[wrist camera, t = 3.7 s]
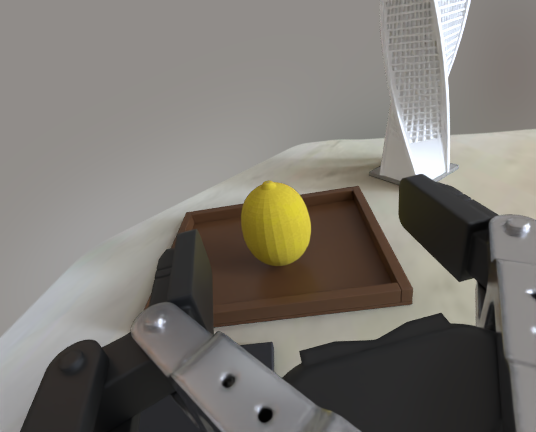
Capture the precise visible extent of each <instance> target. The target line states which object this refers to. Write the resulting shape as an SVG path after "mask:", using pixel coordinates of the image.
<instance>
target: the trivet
mask: <svg viewBox="0 0 536 432" xmlns="http://www.w3.org/2000/svg"><path fill="white" fill-rule="evenodd" d="M240 346H241V347H242V348H243V349H245V350H246V351H247V352H249V353H250V354H251V355H252V356H254V357H255V358H256V359H258V360H259V361H260V362H262V363H263V364H264V365H265V366H267V367H268V368H269V369H271V370H272V371H273V372H274V347H273V343H272V342H267V343H257V344H248V345H240ZM139 432H199V431H198V429H197V428H196V427H195V426H194V425H193V424H192V422H191V421H190V420H189V419H188V418H187V416H186V415H185V414H184V413H183V412H182V410H181V409H180V408H179V407H178V406H177V404H176V403H175V402H174V401H173V400H172V398H171V397H170V396H169V395H168V396H167V397H165V398H163V399H162V400H160V401H158V402H157V403H155V404H153V405H152V406H150V407H148V408H147V409H145V410H143V411H142V412H141V415H140V424H139Z"/></svg>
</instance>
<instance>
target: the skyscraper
mask: <svg viewBox="0 0 536 432" xmlns="http://www.w3.org/2000/svg"><path fill="white" fill-rule="evenodd" d="M470 1H471V0H380V32H381V43H382V53H383V60H384V68H385V74H386V79H387V84H388V89H389V94H390V98H391V104H390V109H389V116H388V122H387V128H386V134H385V141H384V147H383V154H382V161H381V166H379V167H377V168H375V169H374V170H372V171H370V172H369V175H371V176H374V177H377V178H380V179H383V180H386V181H389V182H392V183H395V184H398V185H399V184H400V180H401V179H402V178H405V177H409V176H413V175H418V174H424V175H426V176H427V177H429V178H431V179H432V180H434V181H435V182H437V181H438V180H440V179H442V178H443V177H445V176H447V175H448V174H450V173H452V172H453V171H455V170H457V169H458V168H459V165H457V164H453V163H450V115H449V93H448V92H449V91H448V75H449V73H450V70H451V67H452V64H453V62H454V59H455V56H456V53H457V50H458V47H459V43H460V40H461V37H462V33H463V30H464V26H465V22H466V18H467V14H468V10H469V6H470Z"/></svg>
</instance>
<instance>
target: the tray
mask: <svg viewBox="0 0 536 432" xmlns="http://www.w3.org/2000/svg"><path fill="white" fill-rule="evenodd" d="M300 196H301V198H302V199H303V201H304V203H305V205H306V208H307V210H308V214H309V217H310V222H311V235H310V240H309V244H308V246H307V248H306V250H305V252H304V253H303V254H302V256H301V257H300V258H299V259H297V260H296V261H294V262H293V263H290V264H288V265H284V266H272V265H268V264H265V263H263V262H261V261H260V260H258V259H257V258H256V257H255V256H254V255H253V254H252V253H251V251H250V250H249V248H248V247H247V245H246V242H245V240H244V237H243V232H242V226H241V212H242V207H243V204H238V205H232V206H225V207H219V208H212V209H206V210H199V211H193V212H187V213H186V215H185V217H184V219H183V221H182V224H181V226H180V228H179V231H178V233H182V232H186V231H190V230H194V229H197V230H198V231H199V234H200V236H201V239H202V242H203V245H204V247H205V250H206V253H207V256H208V258H209V261H210V265H211V269H212V278H213V327H221V326H229V325H238V324H246V323H255V322H263V321H272V320H281V319H289V318H298V317H306V316H315V315H323V314H332V313H340V312H349V311H358V310H366V309H375V308H383V307H392V306H400V305H409V304H412V296H413V288H412V286H411V284H410V282H409V280H408V278H407V276H406V275H405V273H404V271H403V269H402V267H401V265H400V263H399V261H398V259H397V258H396V256H395V254H394V252H393V250H392V248H391V246H390V244H389V242H388V241H387V239H386V237H385V235H384V233H383V231H382V229H381V227H380V225H379V224H378V222H377V220H376V218H375V216H374V214H373V212H372V210H371V208H370V207H369V205H368V203H367V201H366V199H365V197H364V195H363V193H362V191H361V190H360V188H359V186H355V187H347V188H341V189H335V190H328V191H322V192H315V193H309V194H302V195H300ZM178 233H177V234H178ZM176 236H177V235H176ZM175 242H176V238H175V240H174V242H173V244H172V247H171V248H175ZM150 297H151V295H150ZM150 297H149V300H148V302H147V304H146V306H145V309H147V308H148V307H149V302H150ZM145 309H144V310H145Z"/></svg>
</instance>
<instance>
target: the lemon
mask: <svg viewBox="0 0 536 432" xmlns="http://www.w3.org/2000/svg"><path fill="white" fill-rule="evenodd" d="M241 226H242V232H243V237H244V240H245V242H246V245H247V247H248V248H249V250H250V251H251V253H252V254H253V255H254V256H255V257H256V258H257V259H258V260H260V261H261V262H263V263H265V264H268V265H272V266H284V265H288V264H290V263H293V262H294V261H296V260H297V259H299V258H300V257H301V256H302V254H303V253H304V252H305V250H306V248H307V246H308V244H309V240H310V235H311V222H310V217H309V214H308V210H307V208H306V205H305V203H304V201H303V199H302V198H301V196H300V195H299V194H298V193H297V192H296V191H295V190H294V189H293V188H291V187H289V186H287V185H285V184H282V183H277V182H272V181H265V182H263V184H262V185H260V186H258V187H256V188H255V189H254V190H253V191H252V192H251V193H250V194H249V195H248V196H247V198H246V199H245V201H244V204H243V207H242V212H241Z"/></svg>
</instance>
